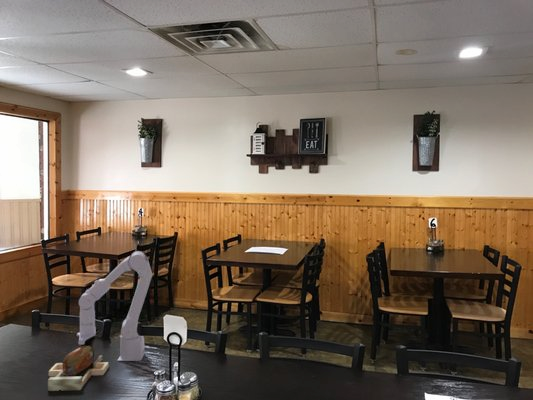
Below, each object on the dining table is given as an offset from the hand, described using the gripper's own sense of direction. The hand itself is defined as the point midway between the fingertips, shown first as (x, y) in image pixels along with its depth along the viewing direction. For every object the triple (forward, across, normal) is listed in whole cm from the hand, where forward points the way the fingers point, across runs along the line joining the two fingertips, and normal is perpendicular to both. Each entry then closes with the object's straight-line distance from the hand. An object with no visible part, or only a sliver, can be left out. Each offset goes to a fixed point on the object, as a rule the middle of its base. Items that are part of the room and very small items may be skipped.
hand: (87, 355), depth 176 cm
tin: (+3, +9, -1) cm, 9 cm away
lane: (+2, +11, 0) cm, 11 cm away
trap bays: (+2, +10, 0) cm, 10 cm away
